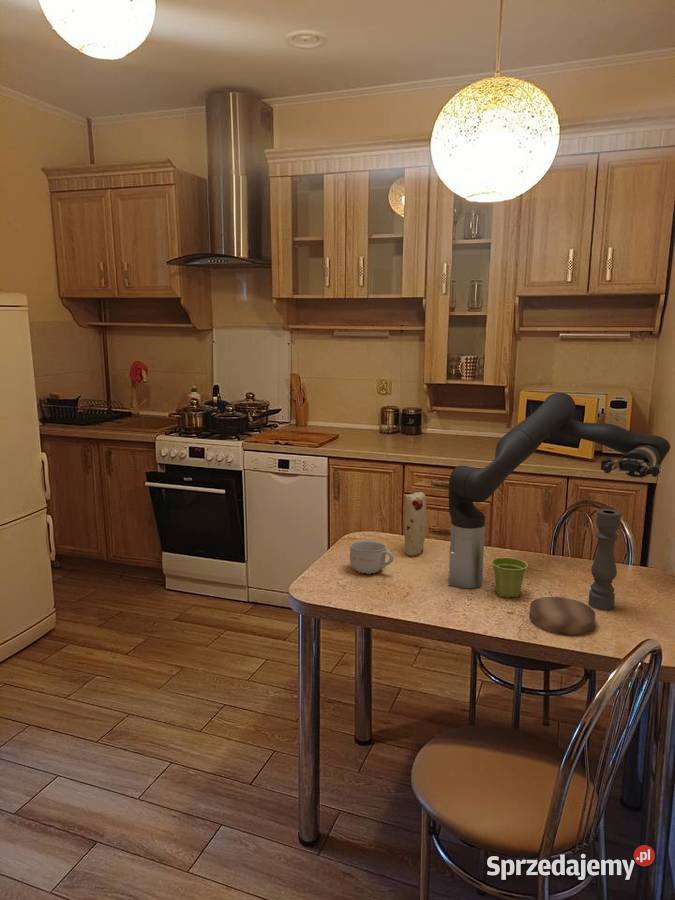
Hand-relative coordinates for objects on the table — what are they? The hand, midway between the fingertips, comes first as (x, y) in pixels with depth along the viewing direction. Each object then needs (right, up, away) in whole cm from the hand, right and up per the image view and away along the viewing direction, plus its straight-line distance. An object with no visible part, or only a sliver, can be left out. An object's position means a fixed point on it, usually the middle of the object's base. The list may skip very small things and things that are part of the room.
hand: (623, 471), depth 164 cm
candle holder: (-7, -35, -2) cm, 35 cm away
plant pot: (-29, -33, +5) cm, 45 cm away
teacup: (-65, -31, +20) cm, 75 cm away
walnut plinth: (-21, -36, -11) cm, 43 cm away
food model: (-51, -28, +36) cm, 68 cm away
